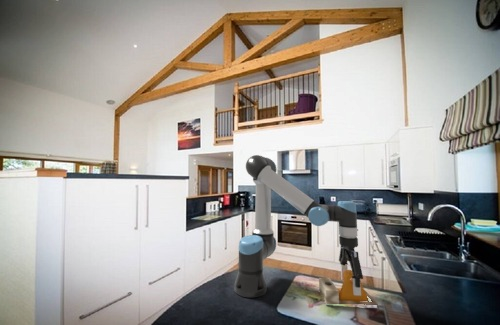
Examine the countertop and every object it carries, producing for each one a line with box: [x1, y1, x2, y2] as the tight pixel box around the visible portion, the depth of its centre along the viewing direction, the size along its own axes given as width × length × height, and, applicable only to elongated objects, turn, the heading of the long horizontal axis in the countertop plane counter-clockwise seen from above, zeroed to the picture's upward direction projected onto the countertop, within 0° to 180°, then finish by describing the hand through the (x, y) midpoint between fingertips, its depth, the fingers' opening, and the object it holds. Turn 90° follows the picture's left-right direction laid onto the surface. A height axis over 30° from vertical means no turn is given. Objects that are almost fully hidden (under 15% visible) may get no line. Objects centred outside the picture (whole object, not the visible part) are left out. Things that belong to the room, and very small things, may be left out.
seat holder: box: [318, 277, 379, 306], centre depth 89 cm, size 20×12×6 cm, turn 85°
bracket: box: [338, 269, 369, 302], centre depth 89 cm, size 11×7×12 cm, turn 85°
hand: (350, 287), depth 89 cm, fingers open, 13 cm apart
